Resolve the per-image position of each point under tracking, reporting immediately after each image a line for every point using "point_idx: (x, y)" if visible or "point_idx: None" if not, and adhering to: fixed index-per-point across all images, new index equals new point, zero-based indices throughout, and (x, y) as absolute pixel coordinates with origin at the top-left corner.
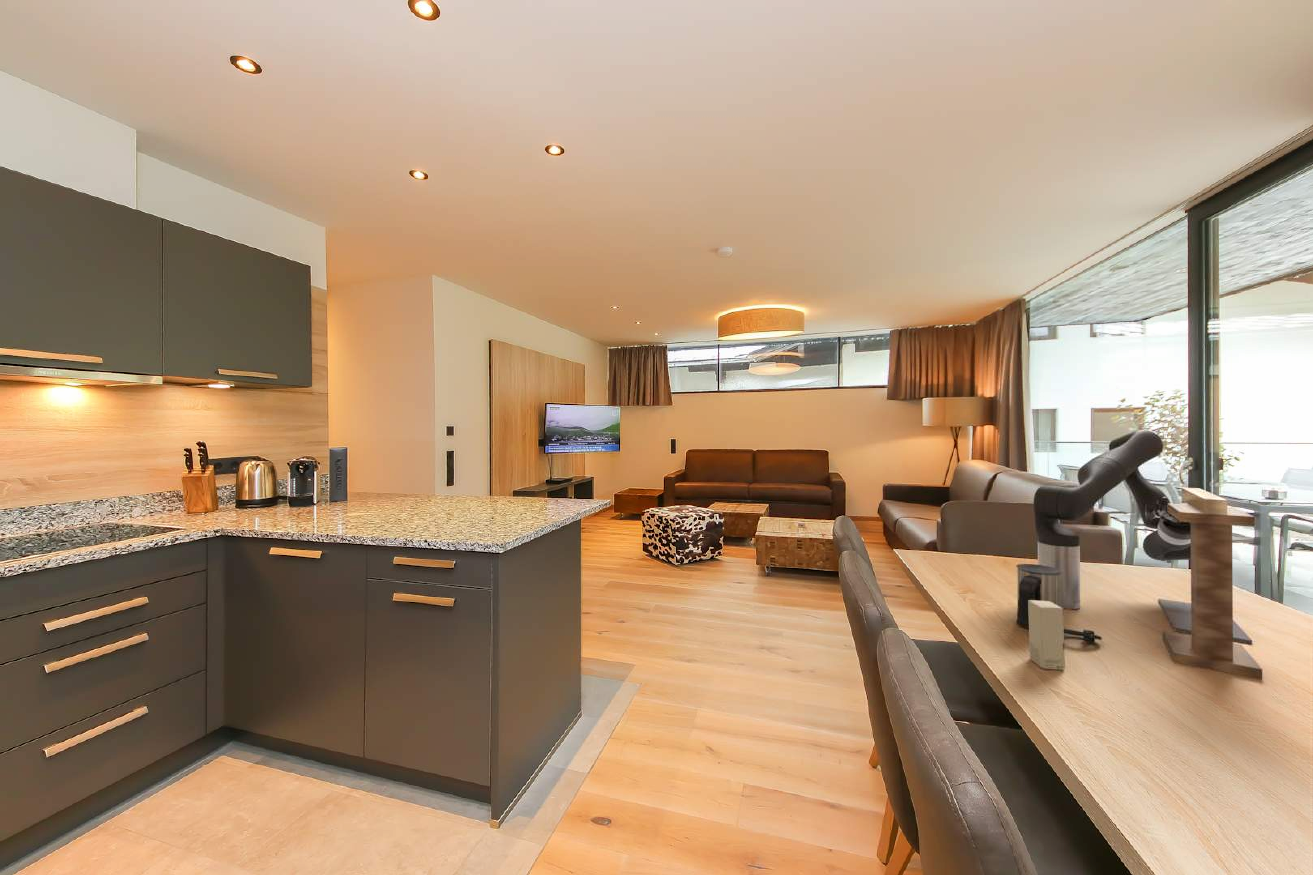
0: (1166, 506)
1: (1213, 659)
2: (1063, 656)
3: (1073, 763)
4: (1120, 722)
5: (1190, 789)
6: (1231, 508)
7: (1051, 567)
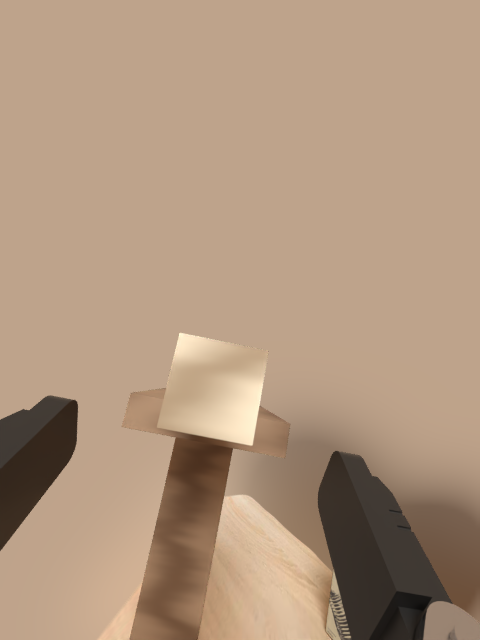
0: (326, 529)
1: None
2: (328, 609)
3: (275, 521)
4: (263, 557)
5: (232, 518)
6: (154, 393)
7: None
